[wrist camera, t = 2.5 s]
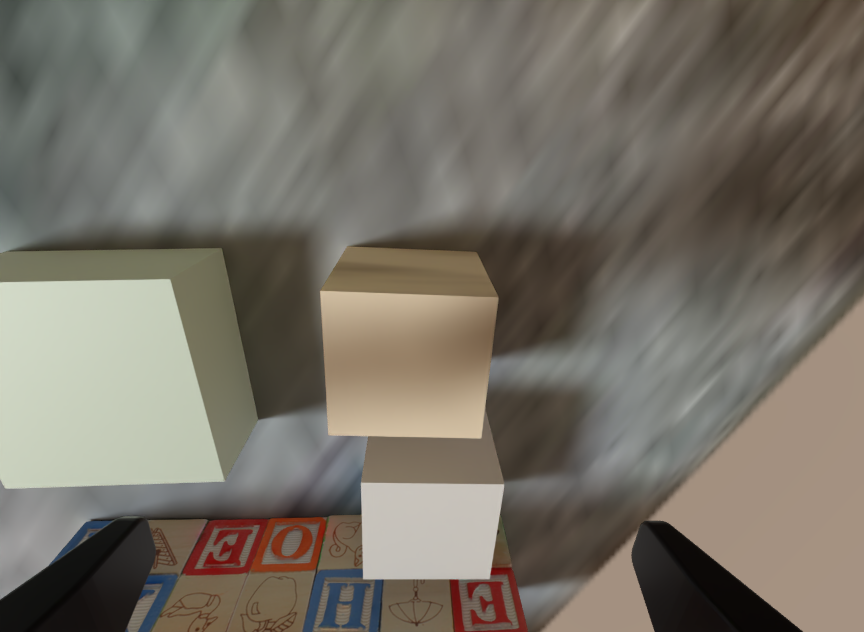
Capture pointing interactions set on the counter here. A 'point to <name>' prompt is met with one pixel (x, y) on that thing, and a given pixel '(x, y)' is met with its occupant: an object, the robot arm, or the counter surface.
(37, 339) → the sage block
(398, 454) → the grey cube
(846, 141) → the counter surface
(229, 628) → the stack of blocks
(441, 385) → the maple cube
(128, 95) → the counter surface
